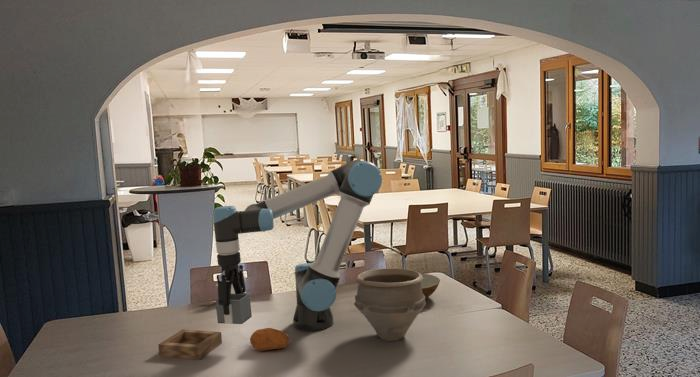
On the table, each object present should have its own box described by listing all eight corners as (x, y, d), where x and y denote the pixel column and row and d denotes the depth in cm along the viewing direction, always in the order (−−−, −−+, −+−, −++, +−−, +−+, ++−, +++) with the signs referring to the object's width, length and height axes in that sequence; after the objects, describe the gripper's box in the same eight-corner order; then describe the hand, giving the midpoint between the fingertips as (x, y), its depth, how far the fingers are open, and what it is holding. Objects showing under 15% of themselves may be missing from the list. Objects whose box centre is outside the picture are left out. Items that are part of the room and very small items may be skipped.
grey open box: (251, 316, 177) (249, 293, 176) (242, 324, 170) (239, 300, 169) (228, 315, 179) (226, 293, 178) (217, 323, 172) (215, 299, 172)
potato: (254, 345, 176) (253, 325, 176) (291, 344, 175) (290, 324, 174) (248, 354, 169) (247, 333, 168) (287, 353, 168) (286, 332, 167)
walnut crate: (221, 343, 179) (221, 332, 179) (200, 359, 166) (199, 347, 166) (183, 340, 184) (182, 329, 183) (159, 356, 171) (158, 344, 170)
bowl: (445, 307, 206) (444, 287, 206) (382, 309, 207) (381, 290, 206) (435, 289, 231) (435, 271, 231) (379, 291, 232) (379, 273, 231)
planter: (344, 346, 172) (341, 281, 170) (367, 320, 195) (364, 263, 192) (418, 353, 163) (415, 285, 161) (433, 326, 186) (431, 266, 184)
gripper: (233, 246, 183) (239, 308, 185) (202, 260, 164) (209, 329, 166) (252, 245, 181) (258, 309, 183) (223, 260, 162) (230, 330, 164)
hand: (234, 319), depth 174 cm, fingers closed on grey open box, 7 cm apart
